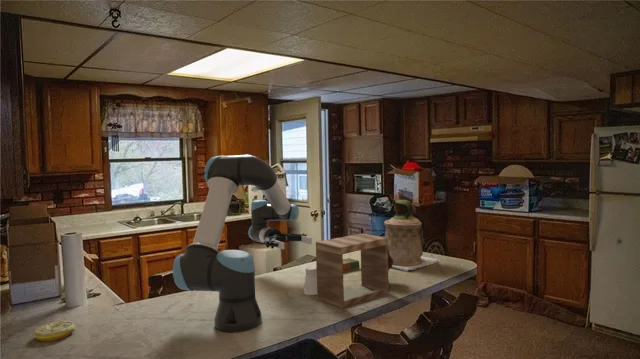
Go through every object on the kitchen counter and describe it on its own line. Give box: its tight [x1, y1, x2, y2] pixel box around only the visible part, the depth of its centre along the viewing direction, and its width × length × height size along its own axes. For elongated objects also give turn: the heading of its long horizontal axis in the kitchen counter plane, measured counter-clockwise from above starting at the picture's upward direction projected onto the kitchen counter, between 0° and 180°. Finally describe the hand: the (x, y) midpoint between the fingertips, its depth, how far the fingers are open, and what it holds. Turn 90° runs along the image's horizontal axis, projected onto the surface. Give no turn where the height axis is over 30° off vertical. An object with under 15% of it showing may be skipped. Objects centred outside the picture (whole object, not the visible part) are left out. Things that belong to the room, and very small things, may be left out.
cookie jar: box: [383, 197, 438, 273], centre depth 212 cm, size 25×25×32 cm
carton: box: [343, 257, 361, 273], centre depth 204 cm, size 8×16×4 cm, turn 124°
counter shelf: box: [315, 233, 390, 309], centre depth 165 cm, size 24×14×22 cm, turn 128°
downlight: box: [302, 265, 317, 296], centre depth 171 cm, size 8×7×10 cm
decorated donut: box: [34, 319, 77, 343], centre depth 136 cm, size 10×11×4 cm
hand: (297, 243), depth 178 cm, fingers open, 13 cm apart
